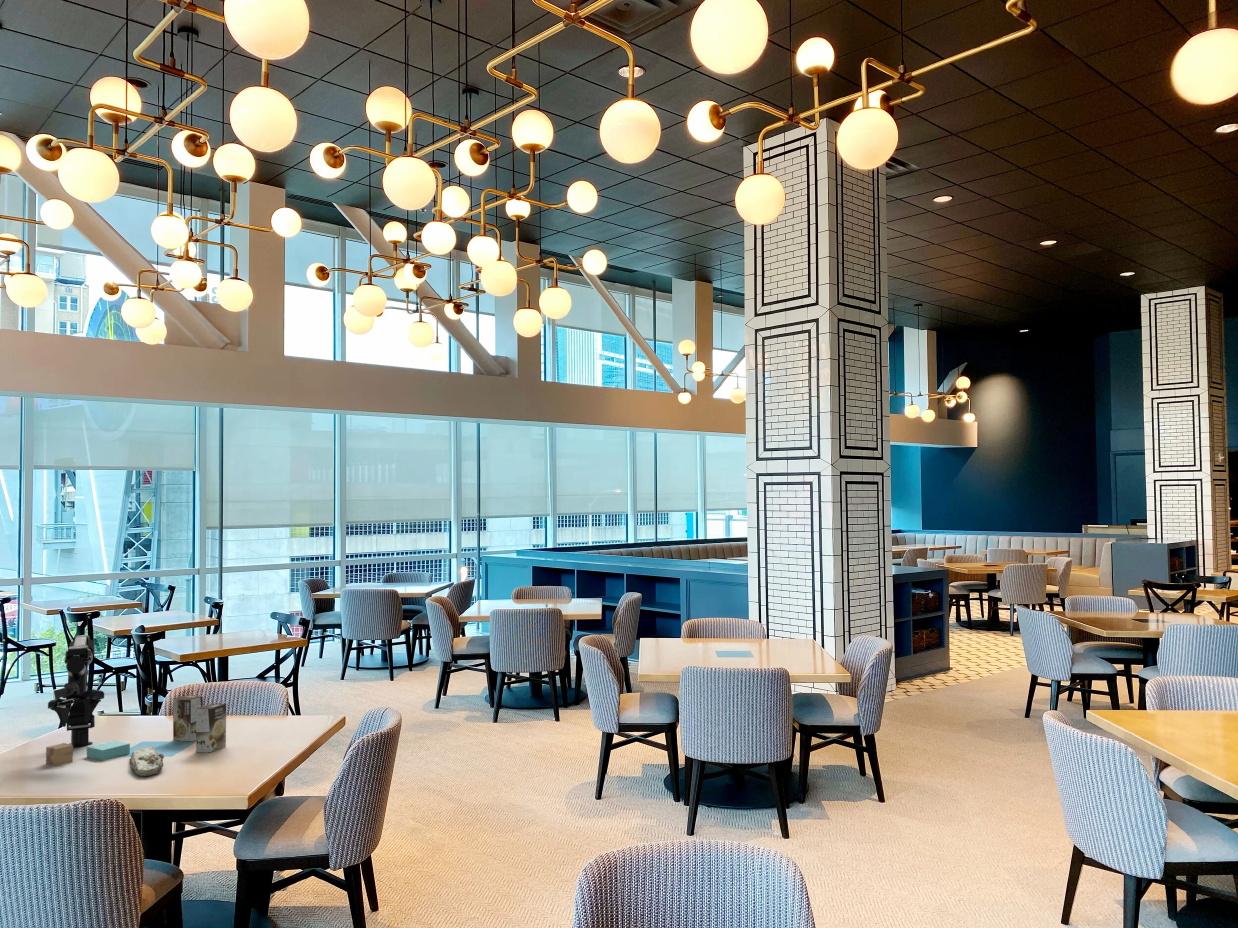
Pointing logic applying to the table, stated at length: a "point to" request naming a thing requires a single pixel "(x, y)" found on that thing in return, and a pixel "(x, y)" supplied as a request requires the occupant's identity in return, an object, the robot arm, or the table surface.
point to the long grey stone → (146, 761)
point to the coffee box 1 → (185, 717)
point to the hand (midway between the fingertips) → (75, 723)
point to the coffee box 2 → (211, 727)
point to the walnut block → (59, 754)
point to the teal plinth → (108, 750)
